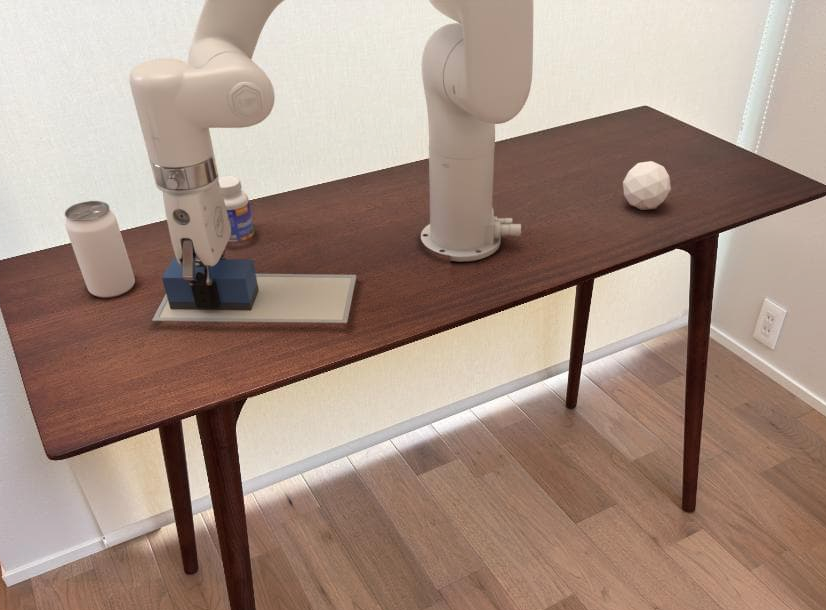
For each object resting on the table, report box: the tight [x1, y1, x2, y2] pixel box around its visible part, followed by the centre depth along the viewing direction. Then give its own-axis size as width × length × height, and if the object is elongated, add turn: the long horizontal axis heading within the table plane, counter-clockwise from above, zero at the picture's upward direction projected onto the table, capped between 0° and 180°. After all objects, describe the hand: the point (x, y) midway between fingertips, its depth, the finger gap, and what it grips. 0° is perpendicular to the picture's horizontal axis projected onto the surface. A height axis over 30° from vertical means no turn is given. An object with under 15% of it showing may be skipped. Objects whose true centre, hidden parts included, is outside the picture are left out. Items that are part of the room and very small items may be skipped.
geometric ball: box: [622, 160, 672, 211], centre depth 131 cm, size 8×8×8 cm
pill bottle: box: [218, 175, 255, 243], centre depth 120 cm, size 5×5×10 cm
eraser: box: [161, 257, 259, 310], centre depth 106 cm, size 11×5×5 cm, turn 89°
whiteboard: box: [151, 273, 357, 324], centre depth 109 cm, size 26×12×1 cm, turn 90°
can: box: [64, 200, 136, 299], centre depth 108 cm, size 6×6×12 cm
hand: (213, 294), depth 107 cm, fingers closed on eraser, 5 cm apart
